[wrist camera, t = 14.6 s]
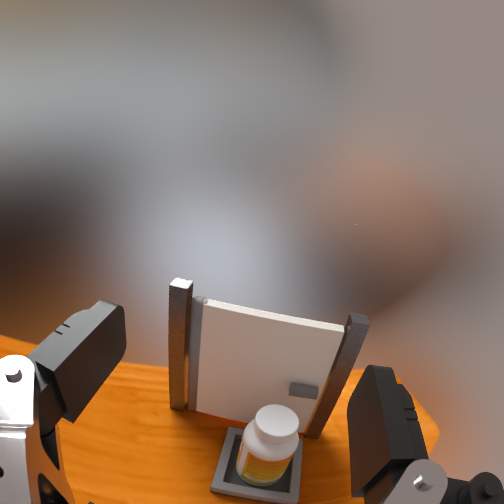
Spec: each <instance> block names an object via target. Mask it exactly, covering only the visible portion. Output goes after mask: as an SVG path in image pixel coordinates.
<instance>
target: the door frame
mask: <svg viewBox="0 0 504 504" xmlns="http://www.w3.org/2000/svg"><path fill="white" fill-rule="evenodd" d="M192 291H193V281H190V280H185V279H181V278H175V279H174V280H173V282H172V283H171V284H170V286H169V335H168V336H169V337H168V338H169V340H168V343H169V344H168V345H169V394H170V408H173V409H176V410H179V411H184V409H185V407H186V405H187V403H188V366H189V342H190V323H191V306H192V293H193V292H192ZM369 326H370V323H369V321H368V317H367V315H361V314H356V313H349V316H348V319H347V322H346V325H345V328H344V335H343V338H342V340H341V343H340V346H339V348H338V351H337V354H336V356H335V359H334V362H333V364H332V367H331V369H330V372H329V374H328V377H327V379H326V382H325V384H324V387H323V389H322V391H321V394H320V396H319V398H318V401H317V403H316V405H315V408H314V410H313V412H312V414H311V416H310V419H309V421H308V423H307V425H306V427H305V429H304V437H306V438H314V439H318V437H319V436H320V434H321V432H322V430H323V428H324V426H325V424H326V422H327V420H328V418H329V416H330V415H331V413H332V411H333V409H334V407H335V404H336V402H337V400H338V398H339V396H340V394H341V392H342V390H343V388H344V386H345V383H346V381H347V379H348V377H349V375H350V372H351V370H352V368H353V365H354V363H355V361H356V358H357V356H358V354H359V351H360V349H361V346H362V344H363V342H364V339H365V336H366V334H367V331H368V329H369Z"/></svg>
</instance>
